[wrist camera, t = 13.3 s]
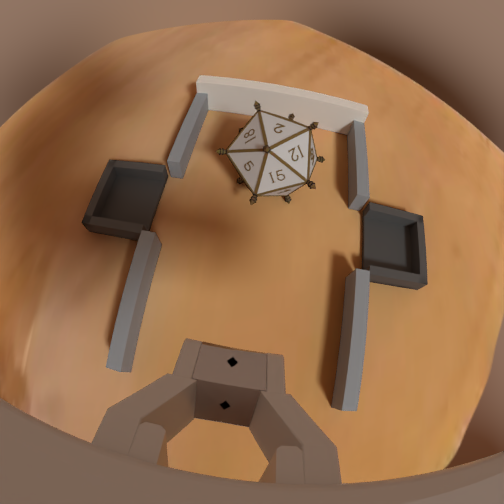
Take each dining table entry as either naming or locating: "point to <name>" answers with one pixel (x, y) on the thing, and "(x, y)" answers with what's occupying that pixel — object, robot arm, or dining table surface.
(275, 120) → the game die
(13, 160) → the dining table surface
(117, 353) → the trap lane
